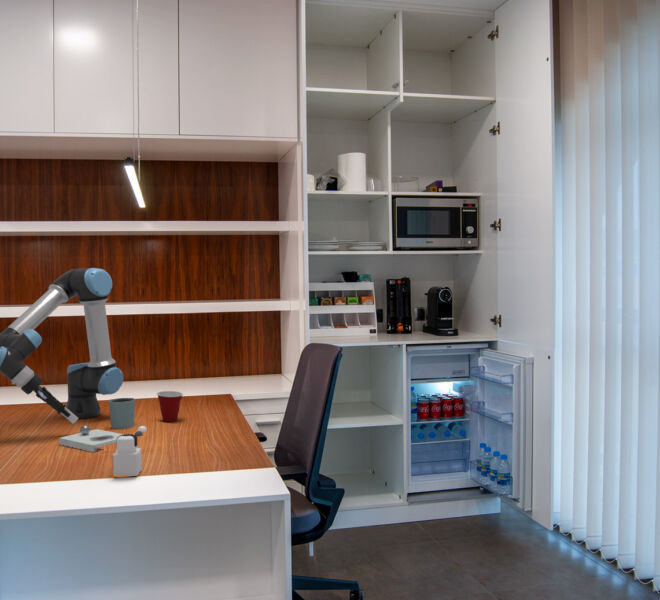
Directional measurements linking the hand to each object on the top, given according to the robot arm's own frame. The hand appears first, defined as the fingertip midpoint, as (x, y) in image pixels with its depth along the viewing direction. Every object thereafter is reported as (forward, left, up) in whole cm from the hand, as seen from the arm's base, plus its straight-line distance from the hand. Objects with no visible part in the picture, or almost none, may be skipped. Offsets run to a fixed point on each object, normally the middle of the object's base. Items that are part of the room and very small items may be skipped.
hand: (75, 421), depth 255 cm
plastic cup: (+12, +36, -6) cm, 39 cm away
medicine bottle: (+59, -23, -6) cm, 64 cm away
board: (+18, -5, -5) cm, 20 cm away
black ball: (+26, +8, -4) cm, 28 cm away
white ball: (+22, +13, -4) cm, 26 cm away
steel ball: (+12, -5, -1) cm, 13 cm away
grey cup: (+8, +15, -6) cm, 18 cm away
